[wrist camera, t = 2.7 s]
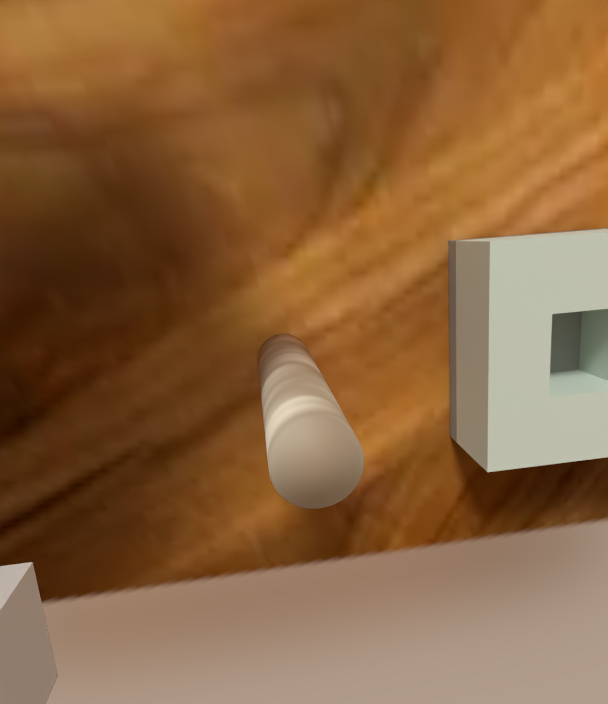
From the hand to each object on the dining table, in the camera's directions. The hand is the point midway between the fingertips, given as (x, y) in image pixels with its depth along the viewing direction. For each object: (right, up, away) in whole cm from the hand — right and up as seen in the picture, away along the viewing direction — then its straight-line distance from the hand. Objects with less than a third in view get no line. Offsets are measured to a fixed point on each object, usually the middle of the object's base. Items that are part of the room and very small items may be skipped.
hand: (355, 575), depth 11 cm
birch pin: (-2, +4, +18) cm, 19 cm away
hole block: (+18, +6, +20) cm, 28 cm away
